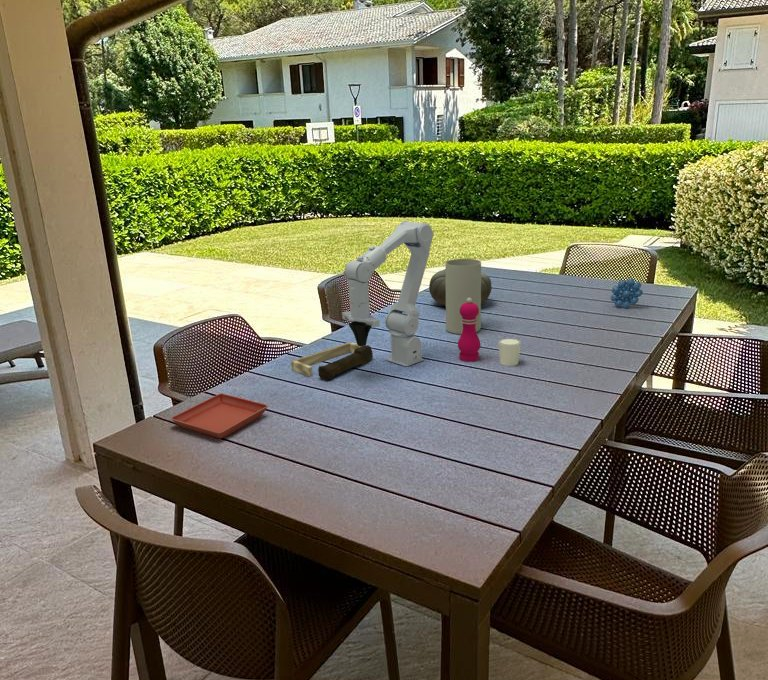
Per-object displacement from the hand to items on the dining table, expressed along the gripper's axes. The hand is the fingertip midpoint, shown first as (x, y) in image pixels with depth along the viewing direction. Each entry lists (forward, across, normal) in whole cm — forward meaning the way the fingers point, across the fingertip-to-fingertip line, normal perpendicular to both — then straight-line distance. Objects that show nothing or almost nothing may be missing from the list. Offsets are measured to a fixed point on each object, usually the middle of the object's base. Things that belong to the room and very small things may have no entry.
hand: (361, 345), depth 195 cm
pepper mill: (+10, +15, +32) cm, 37 cm away
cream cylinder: (+10, +27, +37) cm, 47 cm away
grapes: (+10, +24, +117) cm, 120 cm away
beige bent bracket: (+9, -15, 0) cm, 18 cm away
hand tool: (+10, -8, 0) cm, 12 cm away
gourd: (+10, -29, +80) cm, 86 cm away
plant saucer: (+10, -3, -47) cm, 48 cm away
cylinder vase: (+10, -6, +54) cm, 55 cm away
